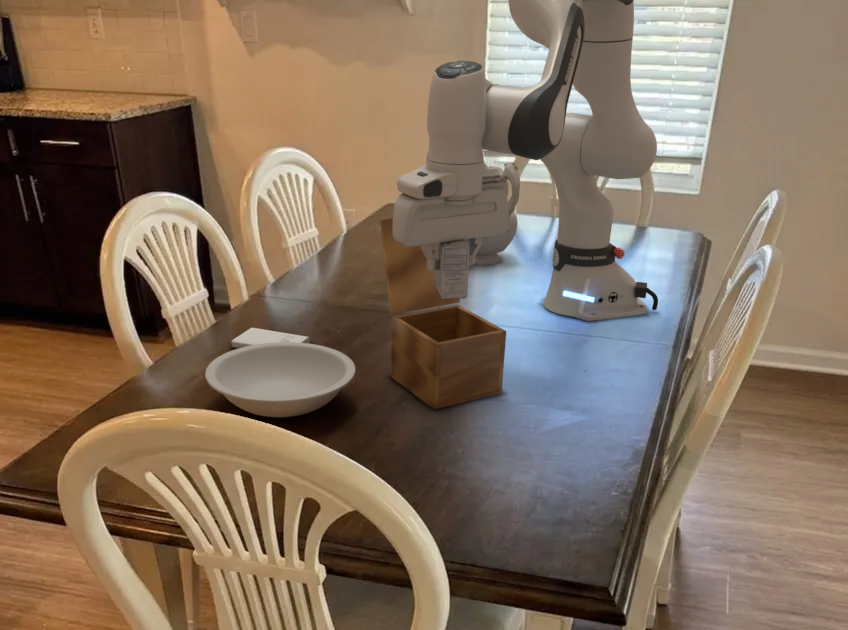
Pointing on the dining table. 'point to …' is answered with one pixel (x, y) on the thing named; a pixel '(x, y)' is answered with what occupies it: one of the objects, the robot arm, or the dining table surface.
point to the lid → (408, 275)
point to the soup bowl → (280, 377)
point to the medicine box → (452, 269)
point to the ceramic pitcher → (500, 242)
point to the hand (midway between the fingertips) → (450, 267)
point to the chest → (447, 355)
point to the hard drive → (265, 338)
